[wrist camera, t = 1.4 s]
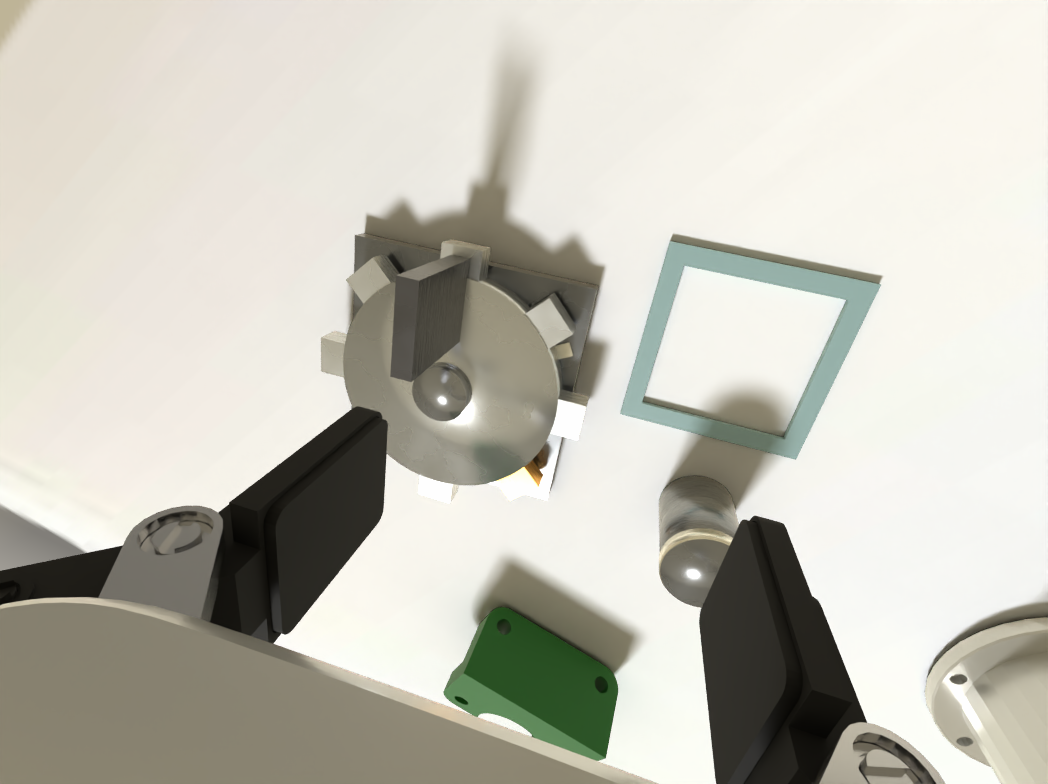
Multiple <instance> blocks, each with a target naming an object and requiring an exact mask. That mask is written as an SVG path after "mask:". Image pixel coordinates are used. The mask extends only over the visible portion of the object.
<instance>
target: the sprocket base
mask: <svg viewBox="0 0 1048 784" xmlns="http://www.w3.org/2000/svg"><path fill="white" fill-rule="evenodd" d="M384 254H386V255H387V257H388V258H389V260H390V261H391V262H392V264H393V265H394V267H395V268H396V269H397V271H398V272H399V274H401V273H403V272H406V271H409V270H411V269H414V268H417V267H420V266H422V265H425V264H428V263H430V262H433V261H436V260H438V259H440V255H441V250H436V249H432V248H427V247H423V246H418V245H414V244H410V243H405V242H401V241H396V240H392V239H387V238H383V237H378V236H374V235H369V234H365V233H364V234H358V235H355V264H354V273H355V272H356V271H357V270H358V269H360V268H361V267H362V266H363V265H364V264H366V263H367V262H368V261H369V260H370V259H372V258H373V257H376V256H380V255H384ZM487 278H490V279H492V280H494V281H496V282H498V283H500V284H501V285H503V286H505V287H506V288H508V289H510V290H511V291H512V292H514V293H515V294H516V295H517V296H519V297H520V298H521V299H522V300H523V301H524V302H525V303H526V304H527V305H528V306H529V307H530V308H531V307H533V306H534V305H536V304H537V303H539V302H541V301H542V300H544V299H545V298H547V297H548V296H550V295H551V294H553V293H555V294H556V296H557V297H558V299H559V300H560V302H561V304H562V305H563V307H564V308H565V310H566V311H567V313H568V314H569V316H570V317H571V319H572V321H573V322H574V324H575V325H576V329H575V331H574V333H573V335H571V336H569V337H568V338H566V339H564V340H563V341H561V342H559V343H557V344H556V345H554V346H555V348H556V350H557V354H558V358H559V361H560V365H561V373H562V389H563V390H567V391H571V392H574V388H575V384H576V379H577V375H578V371H579V367H580V362H581V358H582V354H583V350H584V346H585V341H586V337H587V333H588V329H589V324H590V320H591V316H592V312H593V308H594V303H595V299H596V295H597V291H598V285H593V284H589V283H584V282H580V281H575V280H571V279H566V278H562V277H557V276H553V275H549V274H544V273H540V272H535V271H531V270H526V269H522V268H517V267H513V266H508V265H504V264H499V263H495V262H490V261H489V265H488V272H487ZM362 306H363V302H362V301H361V300H360V298H359V297H358V296H357V294H356V293H355V292H354V314H353V319H354V318H355V316H356V314H357V312H358V311H359V310H360V308H361V307H362ZM352 409H353V407H352ZM562 438H563V437H562V436H558V435H554V434H551V433H550V435H549V437H548V439H547V441H546V443H545V444H544V446H543V447H542V449H541V450H540V452H539V453H538V454H537V455H536V456H535V457H534V458H533V459H532V460H533V461H534V462H535V464H536V465H537V467H538V468H539V469H540V471H541V472H542V474H543V477H542V480H541V482H540V485H539V487H538V488H536V489H534V490H532V491H530V492H528V493H525V494H526V495H529V496H533V497H536V498H540V499H543V500H546V501H547V499H548V496H549V493H550V489H551V485H552V481H553V476H554V472H555V468H556V464H557V460H558V455H559V451H560V447H561V443H562ZM386 454H387V453H386ZM488 484H492V485H495V486H498V487H499V485H498V484H497V483H496V481H495V482H491V483H488Z"/></svg>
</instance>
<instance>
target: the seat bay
mask: <svg viewBox="0 0 1048 784" xmlns="http://www.w3.org/2000/svg"><path fill="white" fill-rule="evenodd" d="M684 266H689V267H694V268H698V269H703V270H708V271H713V272H717V273H722V274H727V275H732V276H736V277H741V278H746V279H750V280H755V281H760V282H765V283H769V284H774V285H779V286H783V287H788V288H793V289H798V290H802V291H807V292H812V293H817V294H821V295H826V296H831V297H835V298H840V299H845V300H847V301H846V303H845V305H844V307H843V309H842V311H841V314H840V316H839V318H838V320H837V322H836V324H835V327H834V329H833V331H832V333H831V335H830V337H829V340H828V342H827V344H826V346H825V348H824V350H823V352H822V355H821V357H820V359H819V361H818V363H817V365H816V368H815V370H814V372H813V374H812V376H811V378H810V381H809V383H808V385H807V387H806V389H805V391H804V394H803V396H802V398H801V400H800V402H799V404H798V407H797V409H796V411H795V413H794V415H793V417H792V419H791V422H790V424H789V426H788V428H787V430H786V432H785V435H784V437H780V436H776V435H772V434H768V433H765V432H761V431H757V430H753V429H749V428H745V427H741V426H737V425H733V424H729V423H725V422H721V421H717V420H713V419H709V418H706V417H702V416H698V415H694V414H690V413H686V412H682V411H678V410H674V409H670V408H666V407H662V406H658V405H654V404H651V403H647V402H643V398H644V394H645V391H646V388H647V385H648V381H649V378H650V375H651V372H652V368H653V365H654V362H655V359H656V355H657V352H658V349H659V346H660V342H661V339H662V336H663V333H664V329H665V326H666V323H667V320H668V316H669V313H670V310H671V307H672V303H673V300H674V297H675V293H676V290H677V287H678V284H679V280H680V277H681V274H682V271H683V267H684ZM880 286H881V284H878V283H873V282H868V281H864V280H859V279H854V278H849V277H844V276H839V275H834V274H830V273H825V272H820V271H815V270H810V269H805V268H800V267H795V266H791V265H786V264H781V263H776V262H771V261H766V260H761V259H756V258H752V257H747V256H742V255H737V254H732V253H727V252H722V251H717V250H713V249H708V248H703V247H698V246H693V245H688V244H683V243H678V242H674V241H670V243H669V246H668V250H667V253H666V257H665V260H664V264H663V267H662V270H661V274H660V277H659V281H658V284H657V288H656V291H655V295H654V298H653V302H652V305H651V309H650V312H649V315H648V319H647V322H646V326H645V329H644V333H643V336H642V340H641V343H640V347H639V350H638V354H637V357H636V361H635V364H634V367H633V371H632V374H631V378H630V381H629V385H628V388H627V392H626V395H625V399H624V402H623V406H622V409H621V413H620V414H622V415H626V416H630V417H634V418H638V419H642V420H646V421H649V422H653V423H657V424H661V425H665V426H669V427H672V428H676V429H680V430H684V431H688V432H692V433H696V434H699V435H703V436H707V437H711V438H715V439H719V440H723V441H726V442H730V443H734V444H738V445H742V446H746V447H750V448H753V449H757V450H761V451H765V452H769V453H773V454H776V455H780V456H784V457H788V458H792V459H796V458H797V456H798V454H799V452H800V450H801V448H802V446H803V444H804V442H805V440H806V438H807V436H808V434H809V432H810V430H811V428H812V426H813V423H814V421H815V419H816V417H817V415H818V413H819V411H820V409H821V407H822V405H823V403H824V401H825V399H826V397H827V395H828V393H829V391H830V389H831V387H832V384H833V382H834V380H835V378H836V376H837V374H838V372H839V370H840V368H841V366H842V364H843V362H844V360H845V358H846V356H847V354H848V352H849V350H850V348H851V345H852V343H853V341H854V339H855V337H856V335H857V333H858V331H859V329H860V327H861V325H862V323H863V321H864V319H865V317H866V315H867V313H868V311H869V308H870V306H871V304H872V302H873V300H874V298H875V296H876V294H877V292H878V290H879V288H880Z"/></svg>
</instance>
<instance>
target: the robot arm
mask: <svg viewBox="0 0 1048 784" xmlns="http://www.w3.org/2000/svg"><path fill="white" fill-rule="evenodd" d="M387 433H388V423H387V421H386V420H384V419H382V414H381V413H380V412H378V411H374V410H371V409H367V408H364V407H360V406H356V407H354V408H353V409H352V410H350V411H349V412H348V413H346V414H345V415H344V416H342V417H341V418H340V419H338V420H337V421H336V422H334V423H333V424H332V425H330V426H329V427H328V428H327V429H325V430H324V431H323V432H321V433H320V434H319V435H317V436H316V437H315V438H313V439H312V440H311V441H309V442H308V443H307V444H306V445H304V446H303V447H302V448H300V449H299V450H298V451H296V452H295V453H294V454H292V455H291V456H290V457H288V458H287V459H286V460H284V461H283V462H282V463H281V464H279V465H278V466H277V467H275V468H274V469H273V470H271V471H270V472H269V473H267V474H266V475H265V476H263V477H262V478H261V479H260V480H258V481H257V482H256V483H254V484H253V485H252V486H250V487H249V488H248V489H246V490H245V491H244V492H242V493H241V494H240V495H238V496H237V497H236V498H235V499H233V500H232V501H231V502H229V505H228V506H226V507H225V508H224V509H222V510H221V511H220V512H216V511H214V510H212V509H211V508H206V507H202V506H181V507H175V508H170V509H167V510H164V511H161V512H158V513H156V514H154V515H152V516H150V517H148V518H146V519H144V520H143V521H142V522H140V523H139V524H138V525H136V526H135V527H134V528H133V529H132V531H131V532H130V533H129V535H128V536H127V538H126V540H125V542H124V545H123V546H119V547H114V548H109V549H104V550H99V551H95V552H90V553H85V554H80V555H75V556H70V557H65V558H61V559H56V560H51V561H47V562H42V563H36V564H32V565H27V566H22V567H17V568H12V569H8V570H2V571H0V784H658V783H655V782H652V781H650V780H647V779H644V778H642V777H639V776H636V775H633V774H631V773H628V772H625V771H623V770H620V769H617V768H614V767H612V766H609V765H606V764H604V763H601V762H598V761H596V760H593V759H590V758H587V757H585V756H582V755H579V754H577V753H574V752H571V751H568V750H566V749H563V748H560V747H558V746H555V745H552V744H550V743H547V742H544V741H541V740H539V739H536V738H533V737H530V736H528V735H525V734H522V733H519V732H517V731H514V730H511V729H508V728H506V727H503V726H500V725H497V724H495V723H492V722H489V721H486V720H484V719H481V718H478V717H475V716H473V715H470V714H467V713H465V712H462V711H459V710H456V709H453V708H451V707H448V706H445V705H442V704H440V703H437V702H434V701H431V700H429V699H426V698H423V697H420V696H418V695H415V694H412V693H409V692H407V691H404V690H401V689H398V688H395V687H393V686H390V685H387V684H384V683H382V682H379V681H376V680H373V679H370V678H368V677H365V676H362V675H359V674H356V673H354V672H351V671H348V670H345V669H342V668H340V667H337V666H334V665H331V664H328V663H326V662H323V661H320V660H317V659H314V658H312V657H309V656H306V655H303V654H300V653H297V652H295V651H292V650H289V649H286V648H283V647H281V646H278V645H275V644H273V643H274V642H275V641H276V639H277V638H278V637H279V636H280V635H281V633H282V634H288V633H290V632H291V631H292V630H293V629H294V627H295V626H296V625H297V624H298V622H299V621H300V620H301V619H302V617H303V616H304V615H305V614H306V612H307V611H308V610H309V609H310V607H311V606H312V605H313V604H314V602H315V601H316V600H317V599H318V597H319V596H320V595H321V594H322V592H323V591H324V590H325V589H326V587H327V586H328V585H329V584H330V582H331V581H332V580H333V579H334V577H335V576H336V575H337V574H338V572H339V571H340V570H341V569H342V567H343V566H344V565H345V564H346V562H347V561H348V560H349V559H350V557H351V556H352V555H353V554H354V552H355V551H356V550H357V549H358V547H359V546H360V545H361V544H362V543H363V541H364V540H365V539H366V538H367V536H368V535H369V534H370V533H371V531H372V530H373V529H374V528H375V526H376V525H377V524H378V522H379V520H380V519H381V516H382V513H383V508H384V489H385V470H386V452H387ZM699 624H700V634H701V644H702V653H703V663H704V673H705V682H706V692H707V701H708V711H709V721H710V730H711V740H712V749H713V759H714V769H715V778H716V784H945V782H944V781H943V779H942V778H941V776H940V774H939V773H938V772H937V770H936V769H935V768H934V767H933V766H932V765H931V764H930V762H929V761H928V760H927V759H926V758H925V757H924V756H923V755H922V754H921V753H920V752H919V751H917V750H916V749H915V748H914V747H913V746H912V745H911V744H909V743H908V742H907V741H905V740H904V739H902V738H901V737H899V736H898V735H896V734H894V733H893V732H891V731H890V730H887V729H885V728H882V727H880V726H878V725H875V724H870V723H867V721H866V719H865V716H864V713H863V711H862V708H861V706H860V703H859V701H858V698H857V696H856V693H855V691H854V688H853V686H852V683H851V680H850V678H849V675H848V673H847V670H846V668H845V665H844V663H843V660H842V658H841V655H840V653H839V650H838V648H837V645H836V642H835V640H834V637H833V635H832V632H831V630H830V627H829V625H828V622H827V620H826V617H825V615H824V612H823V609H822V607H821V605H820V603H819V602H818V600H817V599H815V598H814V597H812V595H811V592H810V590H809V587H808V585H807V582H806V579H805V577H804V574H803V571H802V569H801V566H800V564H799V561H798V558H797V556H796V553H795V551H794V548H793V545H792V543H791V540H790V537H789V535H788V532H787V530H786V527H785V525H784V524H783V523H780V522H777V521H773V520H769V519H766V518H762V517H758V516H753V517H752V518H751V520H750V521H748V520H742V521H741V523H740V524H739V526H738V529H737V531H736V533H735V535H734V537H733V540H732V542H731V544H730V546H729V548H728V551H727V553H726V555H725V557H724V559H723V562H722V564H721V566H720V568H719V570H718V573H717V575H716V577H715V579H714V581H713V584H712V586H711V588H710V590H709V592H708V595H707V597H706V599H705V601H704V603H703V606H702V608H701V612H700V620H699ZM925 697H926V705H927V707H928V709H929V711H930V714H931V716H932V718H933V720H934V722H935V724H936V725H937V727H938V729H939V730H940V732H941V733H942V735H943V736H944V737H945V738H946V739H947V740H948V741H949V742H950V743H951V744H952V745H953V746H954V747H955V748H957V749H958V750H960V751H961V752H963V753H964V754H966V755H967V756H969V757H970V758H972V759H975V760H977V761H979V762H981V763H983V764H985V765H987V766H990V767H992V769H993V771H994V773H995V774H996V776H997V778H998V780H999V781H1000V783H1001V784H1048V617H1043V618H1031V619H1024V620H1019V621H1014V622H1009V623H1004V624H1001V625H998V626H995V627H992V628H989V629H986V630H983V631H980V632H978V633H976V634H974V635H972V636H970V637H968V638H966V639H964V640H962V641H961V642H959V643H958V644H956V645H955V646H954V647H952V648H951V649H950V650H948V651H947V652H946V653H945V654H944V655H943V656H942V657H941V658H940V659H939V660H938V661H937V663H936V664H935V665H934V667H933V668H932V670H931V672H930V674H929V676H928V678H927V683H926V688H925Z"/></svg>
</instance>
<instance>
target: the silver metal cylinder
mask: <svg viewBox="0 0 1048 784" xmlns="http://www.w3.org/2000/svg"><path fill="white" fill-rule="evenodd" d="M738 526H739V523H738V519H737V515H736V511H735V507H734V503H733V500H732V497H731V495H730V493H729V492H728V490H727V489H726V488H725V487H724V486H723V485H722V484H720V483H719V482H717V481H715V480H713V479H711V478H708V477H703V476H686V477H682V478H679V479H677V480H675V481H673V482H671V483H670V484H669V485H668V486H667V487H666V488H665V489H664V490H663V492H662V493H661V496H660V499H659V537H660V554H659V574H660V578H661V581H662V583H663V585H664V586H665V588H666V589H667V590H668V591H669V592H670V593H671V594H672V595H673V596H674V597H675V598H677V599H678V600H680V601H682V602H684V603H686V604H689V605H692V606H696V607H701V608H702V606H703V603H704V601H705V599H706V597H707V595H708V592H709V590H710V588H711V586H712V584H713V581H714V579H715V577H716V575H717V573H718V570H719V568H720V566H721V564H722V562H723V559H724V557H725V555H726V553H727V551H728V548H729V546H730V544H731V542H732V540H733V537H734V535H735V533H736V531H737V529H738Z"/></svg>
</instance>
